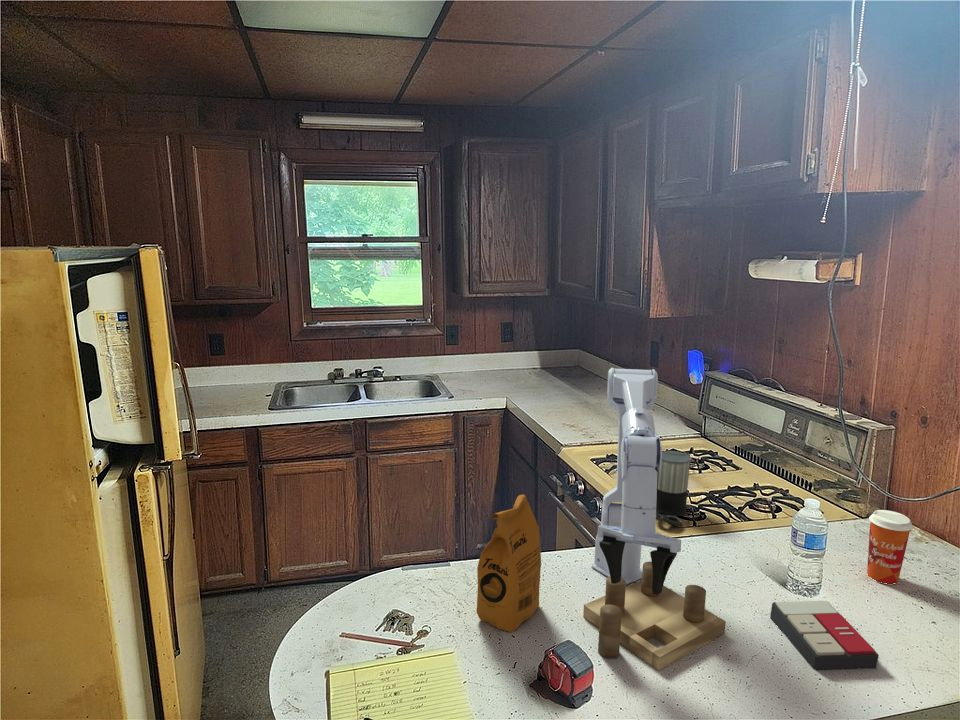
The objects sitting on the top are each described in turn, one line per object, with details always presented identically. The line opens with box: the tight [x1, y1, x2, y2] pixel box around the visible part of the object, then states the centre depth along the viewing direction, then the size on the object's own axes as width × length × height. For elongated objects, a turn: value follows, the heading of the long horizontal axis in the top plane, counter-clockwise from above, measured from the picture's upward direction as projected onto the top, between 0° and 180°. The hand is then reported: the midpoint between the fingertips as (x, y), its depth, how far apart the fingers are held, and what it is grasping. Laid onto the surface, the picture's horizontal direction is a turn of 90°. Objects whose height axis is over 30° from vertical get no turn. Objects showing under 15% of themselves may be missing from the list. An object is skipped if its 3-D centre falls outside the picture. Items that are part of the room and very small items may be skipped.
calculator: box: [769, 600, 879, 671], centre depth 113 cm, size 11×4×15 cm
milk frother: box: [655, 450, 692, 528], centre depth 162 cm, size 14×16×15 cm
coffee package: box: [475, 494, 542, 633], centre depth 119 cm, size 10×12×22 cm
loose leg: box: [597, 605, 622, 660], centre depth 109 cm, size 4×4×8 cm
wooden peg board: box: [582, 561, 727, 671], centre depth 117 cm, size 18×18×8 cm
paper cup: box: [866, 509, 914, 584], centre depth 133 cm, size 8×8×14 cm
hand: (636, 587), depth 107 cm, fingers open, 7 cm apart
